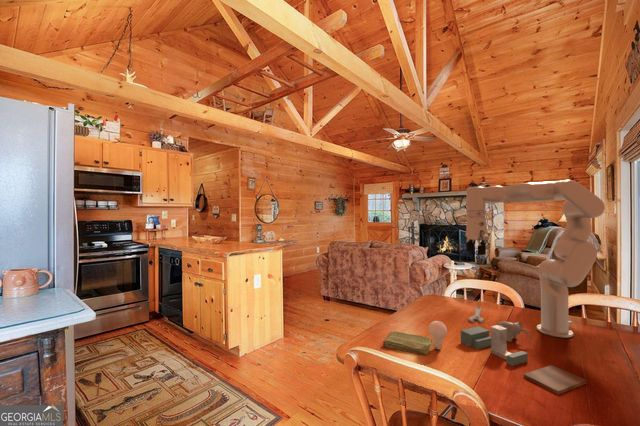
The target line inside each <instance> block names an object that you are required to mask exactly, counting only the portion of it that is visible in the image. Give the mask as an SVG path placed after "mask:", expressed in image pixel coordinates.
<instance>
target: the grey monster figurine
mask: <svg viewBox="0 0 640 426" xmlns="http://www.w3.org/2000/svg"><path fill="white" fill-rule="evenodd" d="M496 324H497V325H499V326H501V327H504V328H507V343H511V342H513V339H514V340H517V339H518V336H519V335H520V334H521V332H524V333H525V334H526V337H527V338H528V339H530V337H531V336H530V334H529V332H528V330H527V329H525V328H523V324H522V322H520V321H517V322H511V321H499V322H496Z"/></svg>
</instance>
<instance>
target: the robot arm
mask: <svg viewBox="0 0 640 426" xmlns="http://www.w3.org/2000/svg"><path fill="white" fill-rule="evenodd" d="M465 193H466V196H465V197H466V199H465V200H466V206H465V207H466V209H465V210H466V212H465V213H466V226H465V227H466V229H465V231H466V232H465V233H464V234H465V240H466V241H465V242H466V252H469V253H470V252H472V253H473V252H475V242H474V241H476V242H477V255H478V256H485V255H487V247H486V246H487V242H488V238H489V237H488V224H487V220H486V219H487V218H486V204H498V203H500V204H501V203H522V204H523V203H538V202H539V203H541V202H557V201H559V202H560V201H563V203H562V204H561V211H562V214H563V215H564V217H565V221H566V224H565V225H566V226H565V228H564V230H563V232H562V233H561V236H559V239H558V240H557V242H556V243H555V245H554V247H553V254H554V255H555V256H556V257H557V258H559V259H562V260H558V259H553V258H551V259H550V258H548V259H545V260H543V261H541V263H539V266H538V268H537V269H538V270H537V271H538V276H539V277H538V278H539V282H540V284H539V285H540V324H537V325H536V330H537V331H539V333H542V334H544V335H547V336H551V337H555V338H563V339H565V338H567V339H568V338H572V337H573V336H574V332H573V331H572V330H571V329H569V327H571V326H573V325H574V323H573V321H571V320H569V289H568V288H574V287H577V286H579V285H580V284H581V283H582V282H583V281H584V280H585V278H586V277H587V275H588V274H589V272H590V270H591V269H592V267H593V265H594V263H596V260H597V257H598V250H597V247H596V246H595V244H594V243H592V242H590V241H588V239H589V237H590V235H591V232H592V224H591V221H590V219H595V218H599V217H601V216H602V215H603V214H604V213H605V210H606V207H605V203H604V202H603V200H602V199H601V198H600V197H599V196H597V195H596V194H594V193H593V192H592V191H591V190H589V188H587V187H585V186H584V185H582V184H581V183H579V182H578V181H576V180H572V179H564V180H556V181H552V180H551V181H542V182H541V181H539V182H523V183H518V184H512V185H505V186H504V185H503V186H501V185H492V186H485V187H484V186H469V187H468V188H466V192H465ZM563 260H564V261H563Z"/></svg>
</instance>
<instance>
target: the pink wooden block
mask: <svg viewBox="0 0 640 426" xmlns="http://www.w3.org/2000/svg"><path fill="white" fill-rule="evenodd" d="M490 337H491V346H490V352H491V354H493V355H495V356H497V357H498V358H501V359H502V360H505V361H507V355H509V354H513V352H509V351H508V350H507V349H508V348H507V347H508V346H507V345H508V342H507V328H504V327H501V326H499V325H492V326H490Z"/></svg>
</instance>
